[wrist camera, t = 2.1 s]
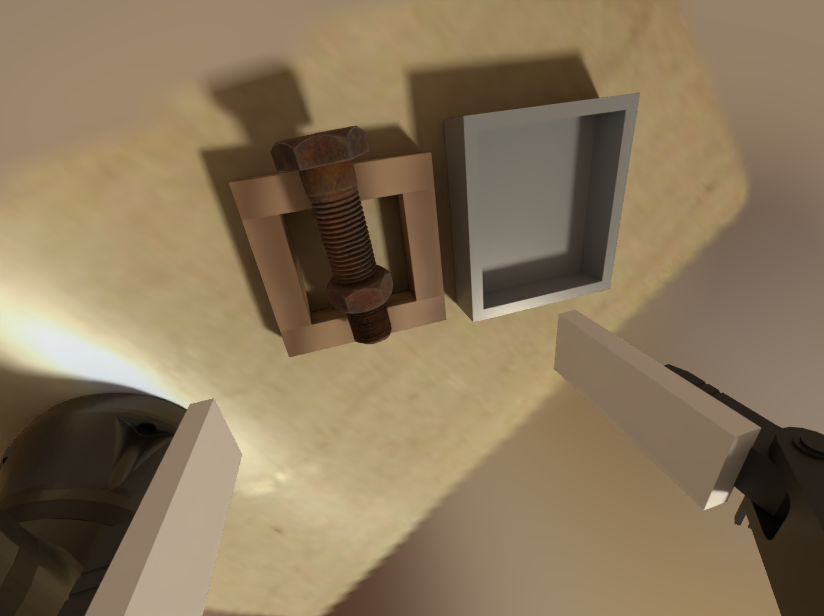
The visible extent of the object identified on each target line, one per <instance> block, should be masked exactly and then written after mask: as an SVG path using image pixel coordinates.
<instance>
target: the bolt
mask: <svg viewBox="0 0 824 616" xmlns="http://www.w3.org/2000/svg"><path fill="white" fill-rule="evenodd" d="M369 151H370V149H369V144H368V140H367V136H366V132H365V131H364V130H363V129H361V128H359V127H357V126H352V127H347V128H342V129H336V130H330V131H325V132H320V133H315V134H311V135H307V136H302V137H297V138H292V139H287V140H283V141H279V142H276V143H275V145H274V146H273V148H272V150H271V154H272V157H273V160H274V163H275V166H276V169H277V171H299V174H300V177H301V180H302V183H303V186H304V189H305V192H306V194H307V196H308V197H309V200H310V202H312V205H311V206H312V207H313V208H314V209H313V212H314V213H316V214H315V217H316V218H317V220H316V222H317V223H319V224H318V227H319V228H321V229H320V230H319V231H320V232H321V233H322V234H321V237H323V239H322V241H323V242H325V243H324V246H325V247H326V248H325V249H326V251H327V255H328V259H329V260H330V264H331V268H332V272H333V273H334V277H333V278H332V279H331V280H330V281H329V283H328V286H327V288H326V293H327V296H328V299H329V302H330V304H331V305H333V306H334V307H335V308H336V309H338V310H339V311H341V312H344V313H346V315H347V319H348V321H349V324H350V327H351V330H352V333H353V337H354V340H355V341H356V342H358V343H364V344H374V343H377V342H380V341H383V340H385V339H387V338H388V337H389V335H390V333H391V330H392V327H391V322H390V318H389V315H388V311H387V306H386V301H387V300H388V299H389V297H390V295H391V293H392V289H393V281H392V277H391V273H390V272H389V271H388V270H386V269H385V268H383V267H381V266H379V265H376V262H375V258H374V253H373V249H372V244H371V240H370V239H369V238H370V237H369V234H368V233H369V232H368V230H367V228H368V227H367V226H366V221H365V216H363V215H364V212H363V211H362V209H363V207H362V206H361V201H360V196H359V192H358V190H357V189H358V187H357V184H358V181H357V177H356V173H355V169H354V165H353V161H352V159H354V158H356V157H358V156H360V155H363V154H365V153H367V152H369Z"/></svg>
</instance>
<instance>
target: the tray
mask: <svg viewBox="0 0 824 616" xmlns="http://www.w3.org/2000/svg"><path fill="white" fill-rule="evenodd" d="M639 95H640V93H633V94H626V95H618V96H611V97H603V98H596V99H588V100H581V101H573V102H565V103H558V104H550V105H543V106H535V107H528V108H520V109H512V110H505V111H497V112H490V113H482V114H475V115H467V116H461V117H456V118H451V119H447V120H444V131H445V145H446V159H447V173H448V187H449V201H450V216H451V230H452V244H453V258H454V272H455V286H456V300H457V305H458V306H459V307H460V308H461V309H462V310H463V311H464V312H465V314H466V315H467V316H468V317H469V318H470V319H471V320H472V321H473V322H476V321H480V320H484V319H488V318H492V317H496V316H501V315H505V314H509V313H513V312H517V311H521V310H525V309H529V308H533V307H537V306H541V305H546V304H550V303H554V302H558V301H562V300H566V299H570V298H574V297H578V296H582V295H587V294H591V293H595V292H599V291H603V290H607V289H610V285H611V278H612V272H613V265H614V258H615V252H616V245H617V239H618V232H619V226H620V219H621V213H622V206H623V200H624V193H625V186H626V180H627V173H628V167H629V160H630V154H631V147H632V141H633V134H634V128H635V121H636V114H637V108H638V101H639Z"/></svg>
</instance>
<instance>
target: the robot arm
mask: <svg viewBox="0 0 824 616" xmlns="http://www.w3.org/2000/svg"><path fill="white" fill-rule="evenodd" d="M554 369H555V370H556V371H557V372H558V373H559V374H560V375H561V376H562V377H563V378H564V379H565V380H566V381H567V382H568V383H570V384H571V385H572V386H573V387H574V388H575V389H576V390H577V391H578V392H579V393H580V394H581V395H582V396H584V398H585V399H586V400H588V401H589V402H590V403H591V404H592V405H593V406H594V407H595V408H596V409H597V410H598V411H599V412H600V413H601V414H602V415H603V416H605V417H606V418H607V419H608V420H609V421H610V422H611V423H612V424H613V425H614V426H615V427H616V428H617V429H618V430H619V431H620V432H622V433H623V434H624V435H625V436H626V437H627V438H628V439H629V440H630V441H631V442H632V443H633V444H634V445H635V446H636V447H637V448H638V449H640V450H641V451H642V452H643V453H644V454H645V455H646V456H647V457H648V458H649V459H650V460H651V461H652V462H654V464H656V466H658V467H659V468H660V469H661V470H662V471H663V472H664V473H665V474H666V475H667V476H668V477H669V478H670V479H672V481H673V482H675V483H676V484H677V485H678V486H679V487H680V488H681V489H682V490H683V491H684V492H685V493H686V494H687V495H688V496H689V497H690V498H692V499H693V500H694V501H695V502H696V503H697V504H698V505H699V506H700V507H701V508H702V509H703V510H705V509H708V508H711V507H713V506H716V505H719V504H721V503H724V502H727V500H728V498H729V496H730V494H731V492H732V490H733V488H734V486H735V487H736V488H737V489H738V490H739V491H741V492H742V493H743V494H744V495H745V497H744V499H743V501H742V503H741V505H740V507H739V509H738V511H737V513H736V515H735V524H737V525H741V523H742V521H743V519H744V517H745V515H747V518H748V520H749V525H748V528H750V529H752V532H753V535H754V538H755V541H756V544H757V547H758V549H759V552H760V555H761V558H762V561H763V564H764V567H765V570H766V572H767V575H768V578H769V581H770V584H771V587H772V590H773V592H774V596H775V599H776V601H777V604H778V607H779V610H780V613H781V616H824V435H823V434H821V433H818V432H815V431H812V430H808V429H804V428H796V427H787V428H781V427H779V426H777V425H775V424H773V423H772V422H770V421H769V420H767V419H765V418H764V417H762V416H760V415H759V414H757V413H756V412H754V411H752V410H750V409H749V408H747V407H746V406H744V405H742V404H741V403H739V402H737V401H736V400H734V399H733V398H731V397H729V396H728V395H726V394H724V393H720V392H719V390H718V389H716V388H714V387H713V386H711V385H709V384H706V383H705V382H704V381H703V380H701V379H699V378H698V377H696V376H694V375H693V374H691V373H689V372H688V371H685V370H682V369H680V368H677V367H675V366H672V365H669V364H668V365H665V366H663V365H661V364H660V363H658V362H657V361H655V360H654V359H652V358H651V357H649V356H647V355H646V354H644V353H643V352H641V351H639V350H638V349H636V348H635V347H633V346H631V345H630V344H628V343H627V342H625V341H624V340H622V339H621V338H619V337H617V336H616V335H614V334H613V333H611V332H610V331H608V330H606V329H605V328H603V327H602V326H600V325H598V324H597V323H595V322H594V321H592V320H591V319H589V318H587V317H586V316H584V315H583V314H581V313H580V312H578V311H576V310H573V311H569V312H565V313H561V314H559V315H558V327H557V339H556V351H555V364H554ZM241 457H242V453H241V451H240V449H239V447H238V445H237V443H236V441H235V439H234V437H233V435H232V433H231V431H230V429H229V427H228V425H227V423H226V421H225V419H224V417H223V415H222V413H221V411H220V409H219V407H218V405H217V403H216V401H215V399H214V398H213V399H209V400H205V401H201V402H197V403H193V404H190V405H189V407H188V409H187V411H186V410H184V409H182V408H181V407H179V406H176V405H174V404H172V403H169V402H166V401H163V400H160V399H156V398H152V397H148V396H142V395H135V394H122V393H111V394H97V395H90V396H85V397H80V398H77V399H73V400H70V401H67V402H64V403H62V404H59V405H57V406H55V407H53V408H51V409H49V410H48V411H46V412H44V413H43V414H42V415H40V416H39V417H38V418H36V419H35V420H34V421H33V422H32V423H31V424H30V425H29V426H28V427H27V428H26V429H25V430H24V431H23V432H22V433H21V434H20V435H19V436H18V437H17V438H16V439H15V440H14V441H13V442H12V443H11V445H10V446H9V447H8V449H7V450H6V452H5V453H4V455H3V457H2V459H1V462H0V616H202V615H203V611H204V606H205V602H206V598H207V594H208V590H209V586H210V582H211V578H212V574H213V570H214V566H215V562H216V558H217V554H218V550H219V546H220V542H221V538H222V534H223V530H224V526H225V521H226V517H227V513H228V509H229V505H230V501H231V497H232V493H233V489H234V485H235V481H236V477H237V473H238V469H239V465H240V461H241Z"/></svg>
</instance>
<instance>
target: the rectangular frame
mask: <svg viewBox="0 0 824 616" xmlns="http://www.w3.org/2000/svg"><path fill="white" fill-rule="evenodd" d="M353 165H354V169H355V173H356V177H357V181H358V184H357V187H358V189H357V190H358V192H359V196H360V201H362V200H367V199H373V198H379V197H385V196H391V195H397V202H398V210H399V217H400V224H401V231H402V239H403V246H404V253H405V260H406V268H407V275H408V282H409V289H410V291H405V292H401V293H396V294H392V295H390V297H389V299H388V300H387V301H386V306H387V311H388V315H389V318H390V322H391V327H392V330H391V333H393V332H397V331H401V330H405V329H410V328H414V327H418V326H422V325H426V324H430V323H435V322H439V321H443V320H446V312H445V301H444V289H443V278H442V267H441V255H440V244H439V233H438V222H437V210H436V199H435V188H434V176H433V165H432V154H431V152H418V153H411V154H405V155H398V156H391V157H384V158H378V159H371V160H364V161H357V162H353ZM229 185H230V188H231V191H232V194H233V197H234V200H235V202H236V205H237V208H238V211H239V214H240V217H241V220H242V223H243V226H244V228H245V231H246V234H247V237H248V240H249V243H250V246H251V249H252V251H253V254H254V257H255V260H256V263H257V266H258V269H259V272H260V275H261V277H262V280H263V283H264V286H265V289H266V292H267V295H268V298H269V301H270V303H271V306H272V309H273V312H274V315H275V318H276V321H277V324H278V326H279V329H280V332H281V335H282V338H283V341H284V344H285V347H286V350H287V352H288V355H289V357H293V356H297V355H301V354H305V353H309V352H313V351H318V350H322V349H326V348H330V347H334V346H339V345H343V344H347V343H351V342H355V340H354V337H353V333H352V330H351V327H350V324H349V321H348V319H347V315H346V313H344V312H341V311H339V310H338V309H336V308H335V307H333V308H328V309H323V310H319V311H314V312H312V311H311V307H310V304H309V300H308V297H307V293H306V290H305V287H304V283H303V280H302V276H301V273H300V269H299V266H298V262H297V259H296V255H295V252H294V249H293V245H292V242H291V238H290V235H289V231H288V228H287V224H286V221H285V217H284V213H290V212H296V211H302V210H308V209H314V208H313V207H312V206H311V205H312V202H310V200H309V197H308V196H307V194H306V192H305V189H304V186H303V183H302V180H301V177H300V174H299V171H290V172H283V173H276V174H270V175H263V176H256V177H249V178H243V179H236V180H234V181H231V182H229Z"/></svg>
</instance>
